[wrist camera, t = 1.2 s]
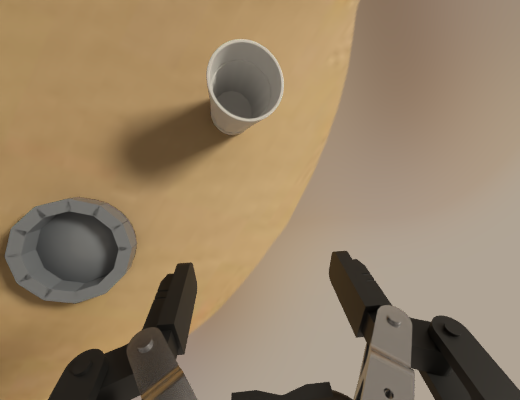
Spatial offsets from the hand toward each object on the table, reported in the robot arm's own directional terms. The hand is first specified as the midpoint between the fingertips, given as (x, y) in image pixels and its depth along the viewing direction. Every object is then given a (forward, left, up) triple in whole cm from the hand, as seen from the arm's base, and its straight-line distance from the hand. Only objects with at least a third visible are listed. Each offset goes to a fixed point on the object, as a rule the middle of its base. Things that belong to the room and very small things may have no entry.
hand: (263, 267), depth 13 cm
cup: (-10, +11, -23) cm, 28 cm away
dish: (-11, -17, -23) cm, 30 cm away
